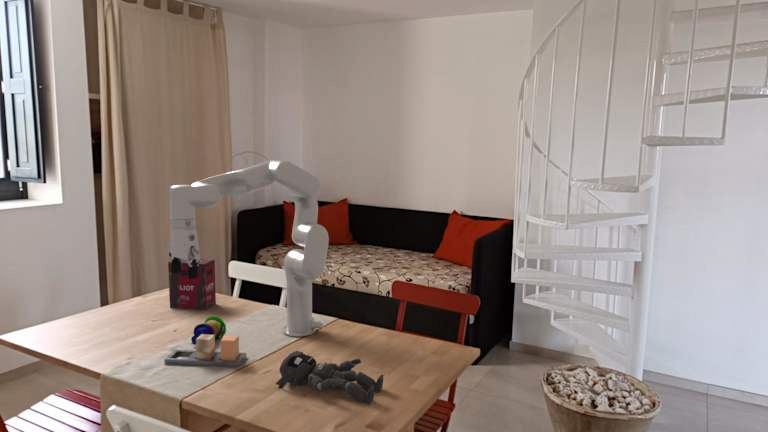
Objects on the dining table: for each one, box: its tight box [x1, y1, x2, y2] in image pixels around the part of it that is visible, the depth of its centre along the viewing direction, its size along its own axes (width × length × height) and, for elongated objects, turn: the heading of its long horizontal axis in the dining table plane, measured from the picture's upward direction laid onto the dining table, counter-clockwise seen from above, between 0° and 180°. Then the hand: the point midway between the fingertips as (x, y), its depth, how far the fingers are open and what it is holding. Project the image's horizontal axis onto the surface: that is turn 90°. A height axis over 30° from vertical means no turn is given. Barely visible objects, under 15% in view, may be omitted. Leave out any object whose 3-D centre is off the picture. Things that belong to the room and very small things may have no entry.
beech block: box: [195, 334, 216, 360], centre depth 178 cm, size 4×4×8 cm
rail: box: [164, 349, 247, 368], centre depth 179 cm, size 24×8×3 cm, turn 86°
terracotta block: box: [220, 334, 240, 361], centre depth 178 cm, size 4×4×8 cm
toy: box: [189, 316, 227, 346], centre depth 196 cm, size 12×9×15 cm
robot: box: [275, 350, 385, 405], centre depth 163 cm, size 17×10×30 cm
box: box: [167, 258, 217, 311], centre depth 236 cm, size 16×9×20 cm, turn 81°
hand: (184, 275), depth 178 cm, fingers open, 9 cm apart
